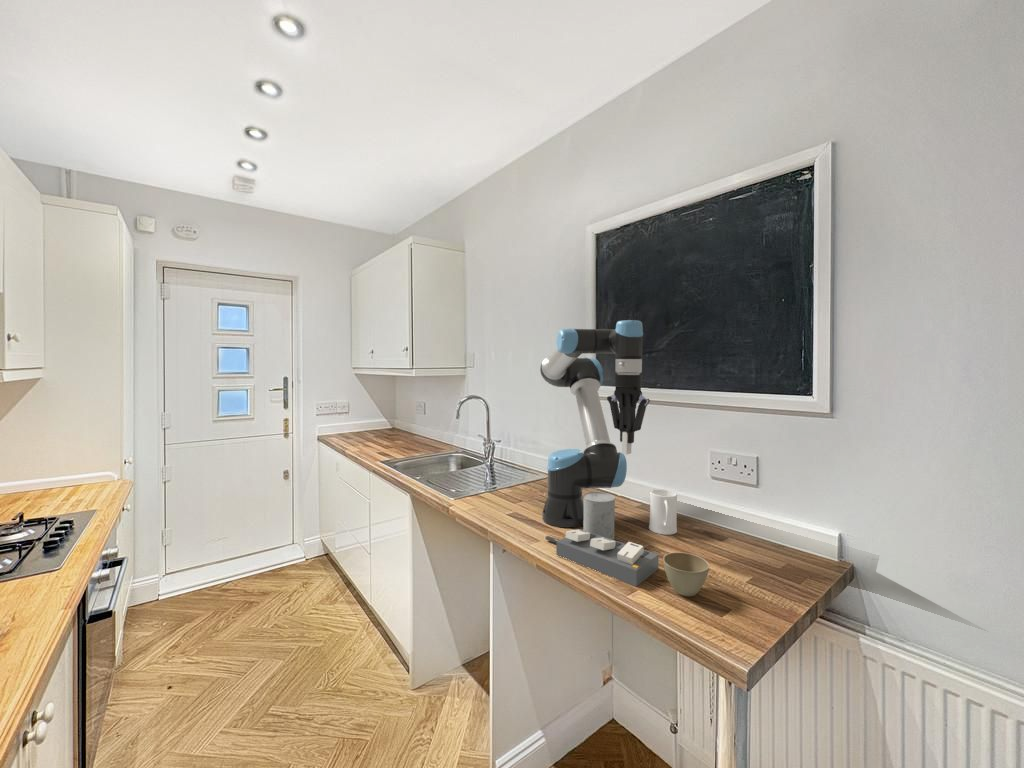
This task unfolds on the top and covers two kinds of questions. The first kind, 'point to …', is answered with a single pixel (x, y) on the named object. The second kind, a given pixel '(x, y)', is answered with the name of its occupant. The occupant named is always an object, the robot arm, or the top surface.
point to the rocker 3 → (630, 553)
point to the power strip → (607, 559)
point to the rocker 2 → (602, 543)
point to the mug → (663, 511)
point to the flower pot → (685, 572)
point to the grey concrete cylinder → (599, 514)
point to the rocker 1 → (577, 535)
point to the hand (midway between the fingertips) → (626, 453)
